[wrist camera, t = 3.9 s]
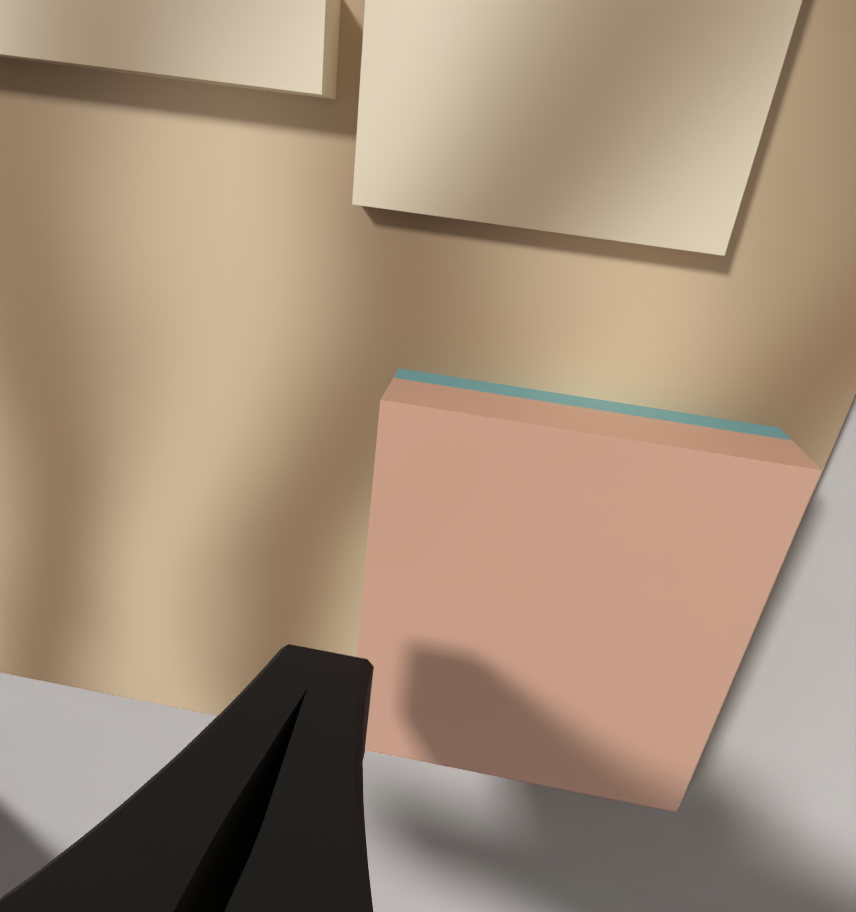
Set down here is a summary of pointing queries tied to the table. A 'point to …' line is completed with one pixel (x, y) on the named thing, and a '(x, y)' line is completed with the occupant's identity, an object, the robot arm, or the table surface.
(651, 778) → the tile
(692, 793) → the table surface
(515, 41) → the wooden turner
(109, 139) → the cork mat
